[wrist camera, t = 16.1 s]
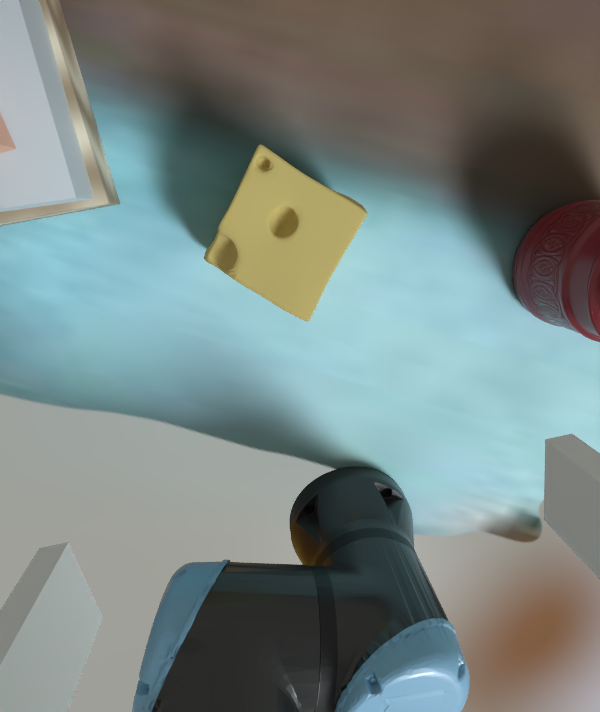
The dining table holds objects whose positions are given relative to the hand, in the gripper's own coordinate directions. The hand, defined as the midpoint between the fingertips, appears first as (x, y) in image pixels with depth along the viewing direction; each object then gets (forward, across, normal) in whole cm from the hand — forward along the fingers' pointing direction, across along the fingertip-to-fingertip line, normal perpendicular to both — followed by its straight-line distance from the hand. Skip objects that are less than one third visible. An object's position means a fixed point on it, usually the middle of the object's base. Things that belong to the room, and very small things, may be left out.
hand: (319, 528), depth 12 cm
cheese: (+35, -2, -6) cm, 36 cm away
